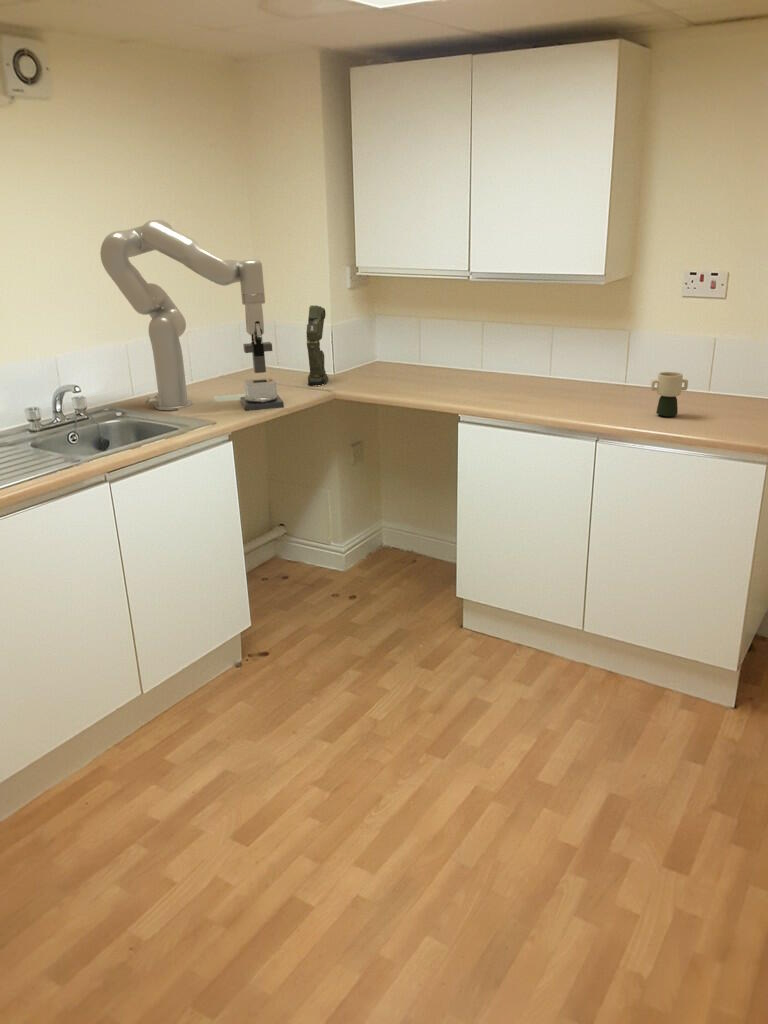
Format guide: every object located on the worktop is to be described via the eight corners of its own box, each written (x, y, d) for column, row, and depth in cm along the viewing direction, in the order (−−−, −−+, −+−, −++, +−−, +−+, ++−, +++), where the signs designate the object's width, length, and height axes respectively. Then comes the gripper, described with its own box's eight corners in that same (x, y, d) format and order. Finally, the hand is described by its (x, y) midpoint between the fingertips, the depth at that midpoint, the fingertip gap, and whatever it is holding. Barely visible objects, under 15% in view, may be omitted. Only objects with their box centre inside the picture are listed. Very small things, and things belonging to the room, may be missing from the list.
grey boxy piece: (247, 403, 278) (245, 384, 275) (243, 396, 288) (241, 378, 285) (279, 400, 280) (278, 382, 278) (274, 393, 290) (273, 376, 288)
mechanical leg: (320, 386, 308) (321, 303, 304) (301, 385, 309) (302, 303, 306) (330, 387, 321) (331, 308, 318) (312, 386, 323) (313, 308, 319)
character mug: (681, 412, 258) (685, 371, 254) (688, 418, 252) (692, 375, 247) (645, 413, 259) (649, 372, 255) (651, 418, 252) (655, 376, 248)
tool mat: (215, 403, 289) (215, 402, 289) (212, 397, 298) (212, 396, 298) (249, 400, 292) (249, 399, 292) (246, 395, 301) (246, 393, 301)
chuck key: (247, 374, 278) (244, 345, 274) (245, 371, 282) (243, 343, 278) (274, 371, 280) (271, 343, 277) (272, 369, 284) (269, 341, 281)
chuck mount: (245, 410, 277) (244, 405, 277) (240, 402, 289) (240, 397, 288) (283, 407, 281) (283, 401, 280) (277, 399, 292) (277, 394, 292)
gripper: (238, 297, 279) (244, 351, 285) (245, 302, 264) (250, 359, 270) (261, 296, 281) (265, 350, 287) (268, 300, 266) (273, 357, 272)
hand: (258, 354), depth 279 cm, fingers closed on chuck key, 4 cm apart
